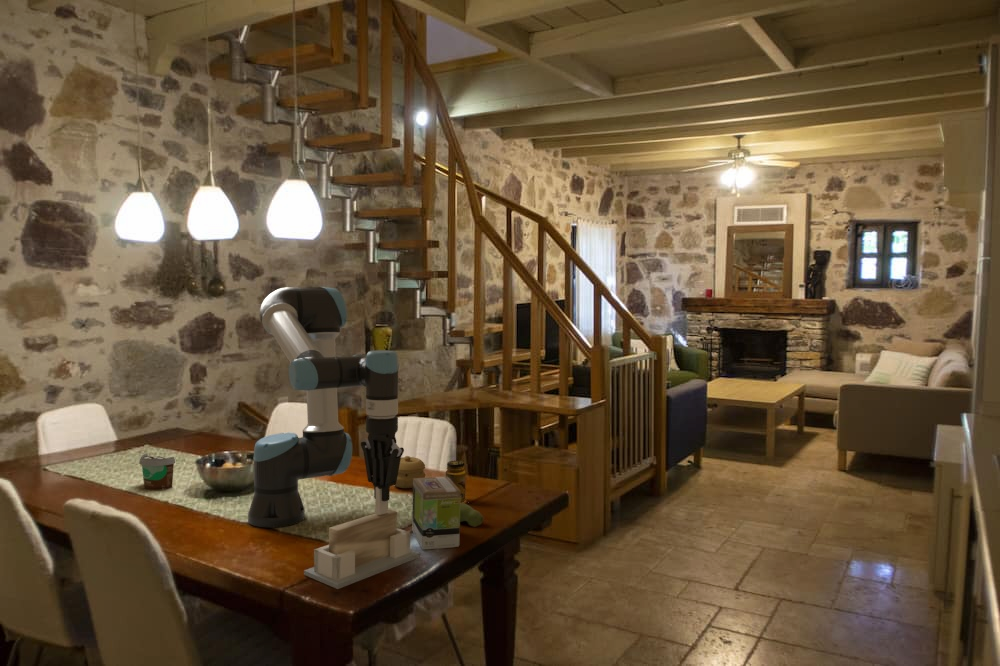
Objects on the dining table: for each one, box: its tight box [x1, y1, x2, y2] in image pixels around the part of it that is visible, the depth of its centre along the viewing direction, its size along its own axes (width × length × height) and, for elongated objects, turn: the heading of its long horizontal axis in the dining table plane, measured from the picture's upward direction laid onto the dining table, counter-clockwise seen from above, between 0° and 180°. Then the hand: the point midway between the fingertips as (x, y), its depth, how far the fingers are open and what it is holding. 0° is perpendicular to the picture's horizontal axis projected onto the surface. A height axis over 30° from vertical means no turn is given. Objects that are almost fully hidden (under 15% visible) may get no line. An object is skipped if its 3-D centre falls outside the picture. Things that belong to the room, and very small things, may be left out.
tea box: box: [411, 476, 461, 551], centre depth 193 cm, size 15×10×15 cm
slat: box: [328, 508, 398, 568], centre depth 175 cm, size 3×18×10 cm, turn 141°
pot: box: [394, 455, 426, 489], centre depth 242 cm, size 12×12×10 cm
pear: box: [460, 503, 484, 528], centre depth 207 cm, size 6×5×10 cm
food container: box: [138, 453, 176, 491], centre depth 236 cm, size 12×6×10 cm, turn 68°
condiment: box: [445, 460, 466, 503], centre depth 226 cm, size 7×8×12 cm
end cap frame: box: [303, 527, 421, 590], centre depth 175 cm, size 12×25×6 cm, turn 141°
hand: (381, 513), depth 179 cm, fingers closed
